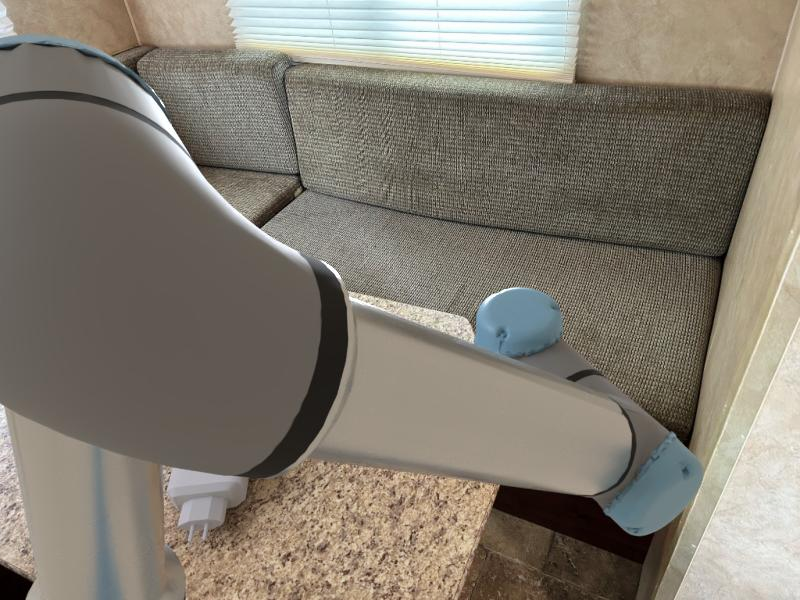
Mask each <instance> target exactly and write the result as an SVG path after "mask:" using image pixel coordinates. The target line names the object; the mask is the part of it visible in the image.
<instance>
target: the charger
mask: <svg viewBox="0 0 800 600" xmlns="http://www.w3.org/2000/svg"><path fill="white" fill-rule="evenodd" d="M249 479H250V478H248V477H239V476H222V475H216V474H209V473H203V472H197V471H191V470H185V469H179V468H172V469H171V473H170V477H169V481H168V485H167V488H166V494H167V496H168V498H169V499H170V501H171V503H172V504H173V506H174V507H175V508H176V509H177V510H178V511H179V513H180V515H179V519H178V523H177V527H176V528H177V529H179V530H182V531H189V534H188V539H187V543H192V542H193V539H194V535H195V532H201V531H203V533H202V537H201V538H202V539H201V540H202V541H204V542H206V541H207V540H208V534H209V530H214V529H216V528H219V527H220V526H222V525H223V524H224V523H225V520H226V514H227V509H233V508H236V507H238V506H239V505H241V503H244V502H245V501H246V499H247V493H248V488H249V487H248V486H249V481H250V480H249Z"/></svg>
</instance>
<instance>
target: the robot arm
mask: <svg viewBox="0 0 800 600" xmlns="http://www.w3.org/2000/svg"><path fill="white" fill-rule="evenodd" d="M564 329H565V328H564V324H563V315H562V311H561V308H560V307H559V304H558V302H557V301H556V300H555V299H554V298H553V297H551V296H550V295H548V294H546V293H545V292H543V291H540V290H539V289H533V288H529V287H510V288H506V289H502V290H500V291H499V292H495V293H493V294H491V295H490V296H488V297H486V298H485V300H484V301H482V303H481V304H480V305H479V307H478V309H477V312H476V319H475V335H474V337H473V342H470V341H468V340H464V339H462V338H459V337H456V336H454V335H452V334H449V333H446V332H443V331H441V330H438V329H436V328H433V327H431V326H427V325H426V324H422V323H419V322H417V321H414V320H412V319H409V318H406V317H404V316H401V315H399V314H396V313H394V312H391V311H389V310H386V309H384V308H381V307H378V306H375V305H372V304H371V303H367V302H365V301H362V300H359V299H357V298H354V297H352V296H350V294H349V291H348V289H347V286H346V284H345V282H344V280H343V279H342V277H341V276H340V274H339V272H337V271H336V269H334V268H333V267H332V266H331V265H329V264H327V263H326V262H325V261H323V260H321V259H318V258H316V257H314V256H311V255H309V254H306V253H303V252H302V251H300V250H297V249H294V248H292V247H290V246H288V245H286V244H284V243H283V242H280V241H279V240H278V239H275V238H274V237H273V236H270V235H269V234H267V233H266V232H265V231H263V230H262V229H260V228H259V227H258V226H256V225H255V224H254V223H253V222H252V221H250V220H249V219H248V218H246V217H245V216H244V215H243V214H242V213H240V212H239V211H238V210H237V209H236V208H234V207H233V206H232V205H231V204H230V203H229V202H228V201H227V200H226V199H225V198H224V197H223V196H222V194H220V193H219V192H218V190H216V189H215V188H214V186H213V185H211V183H209V182H208V180H207V179H206V178H205V176H204V175H203V174H202V172H201V171H200V169H199V167H198V166H197V164H196V162H195V160H194V159H193V158H192V156H191V154H190V153H189V151H188V150H187V148H186V146H185V145H184V143H183V141H182V140H181V138H180V136H179V135H178V133H177V132H176V130H175V129H174V127H173V126H172V121H171V117H170V115H169V113H168V111H167V108H166V106H165V105H164V103H163V101H162V99H161V98H160V97H159V96H158V95H157V94H156V92H155V90H154V89H153V88H152V87H151V86H150V85H149V84H148V83H147V82H146V81H145V80H144V79H142V77H140V76H139V75H138V74H137V73H136V72H135V71H134V70H133V69H131V68H129V67H128V66H126V65H125V64H123V63H122V62H120V61H119V60H118V59H116V58H114V57H113V56H111V55H110V54H108V53H106V52H105V51H103V50H100V49H98V48H97V47H94V46H92V45H89V44H87V43H84V42H81V41H79V40H75V39H73V38H68V37H63V36H58V35H52V34H51V35H50V34H40V33H24V34H14V35H8V36H1V37H0V405H1V406H3V408H4V413H5V418H6V424H7V428H8V433H9V439H10V443H11V449H12V454H13V458H14V464H15V470H16V474H17V480H18V485H19V489H20V490H19V491H20V494H21V499H22V504H23V510H24V514H25V519H26V524H27V525H26V526H27V529H28V535H29V540H30V546H31V550H32V555H33V560H34V565H35V570H36V575H37V577H36V578H35V580H34V581H33V583H32V585H31V587H30V589H29V590H28V592H27V594H26V597H25V600H186V597H187V596H186V595H187V593H186V592H187V591H186V590H187V589H186V586H187V584H186V583H187V580H186V573H185V569H184V566H183V565H182V562H181V559H180V557H179V556H178V555H177V553H176V552H175V551H174V550H173V549H172V548H171V547H170V546H169V545H168V544H166V534H165V533H166V532H165V501H164V500H165V494H164V493H165V492H164V491H165V489H164V466H165V467H169V468H172V469H173V468H179V469H185V470H191V471H197V472H203V473H209V474H216V475H222V476H239V477H248V478H249V479H255V480H257V479H258V480H259V479H260V480H269V479H270V480H271V479H275V478H279V477H281V476H284V475H286V474H288V473H289V472H292V471H293V470H294V469H296V468H297V467H298V466H299V465H301V464H302V463H303V462H304V461H306V460H310V461H311V460H312V461H319V462H325V463H326V462H327V463H335V464H343V465H349V466H357V467H364V468H371V469H377V470H378V469H379V470H386V471H392V472H393V471H394V472H403V473H409V474H416V475H423V476H431V477H438V478H439V477H440V478H445V479H452V480H453V479H454V480H462V481H467V482H475V483H476V482H477V483H484V484H490V485H491V484H492V485H499V486H504V487H505V486H506V487H514V488H521V489H527V490H528V489H529V490H535V491H543V492H551V493H558V494H565V495H573V496H580V497H584V498H591V499H593V500H594V501H595V502H597V504H598V506H600V508H601V509H602V512H603V513H604V514H605V516H607V517H609V518H611V519H612V520H613V521H614V522H615V523H616V524H617V525H618V526H619V527H620V528H621V529H622V530H623V531H625V532H626V533H627V534H629V535H631V536H635V537H643V536H647V535H651V534H652V533H655V532H657V531H660V530H661V529H662V528H664V527H666V526H667V525H668V524H670V523H671V522H672V521H673V520H675V519H676V518H677V517H678V516H679V515H681V513H682V512H683V511H684V510H685V509H686V508H687V507H688V506H689V504H690V503H691V502H692V501H693V500H694V498H695V497H696V495H697V494H698V492H699V491H700V488H701V486H702V484H703V481H704V475H705V474H704V467H703V465H702V462H701V461H700V459H699V458H698V457H697V456H696V455H695V454H694V453H693V452H692V451H691V450H690V449H688V447H686V446H685V444H683V443H682V441H680V439H678V437H677V434H676V433H675V432H673V431H669V430H668V429H667V428H666V427H664V425H662V424H661V423H660V422H659V421H657V420H656V419H655V418H654V417H653V416H652V415H651V414H649V413H648V412H647V411H646V410H644V408H642V407H641V406H640V405H639V404H637V403H636V402H635V401H634V400H632V399H631V397H629V396H628V395H626V394H625V393H624V392H623V391H622V389H620V388H618V387H617V386H616V385H615V384H613V383H612V382H611V381H610V380H609V379H608V377H606V375H604V374H603V373H602V372H601V370H599V369H597V368H596V366H594V364H592V363H591V362H590V361H589V360H587V359H586V358H585V357H584V356H583V355H582V354H581V353H580V352H578V350H576V349H575V348H574V347H572V346H571V345H570V344H569V343H568V342H567V341H565V339H564V338H563V333H564V332H565V330H564Z"/></svg>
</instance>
